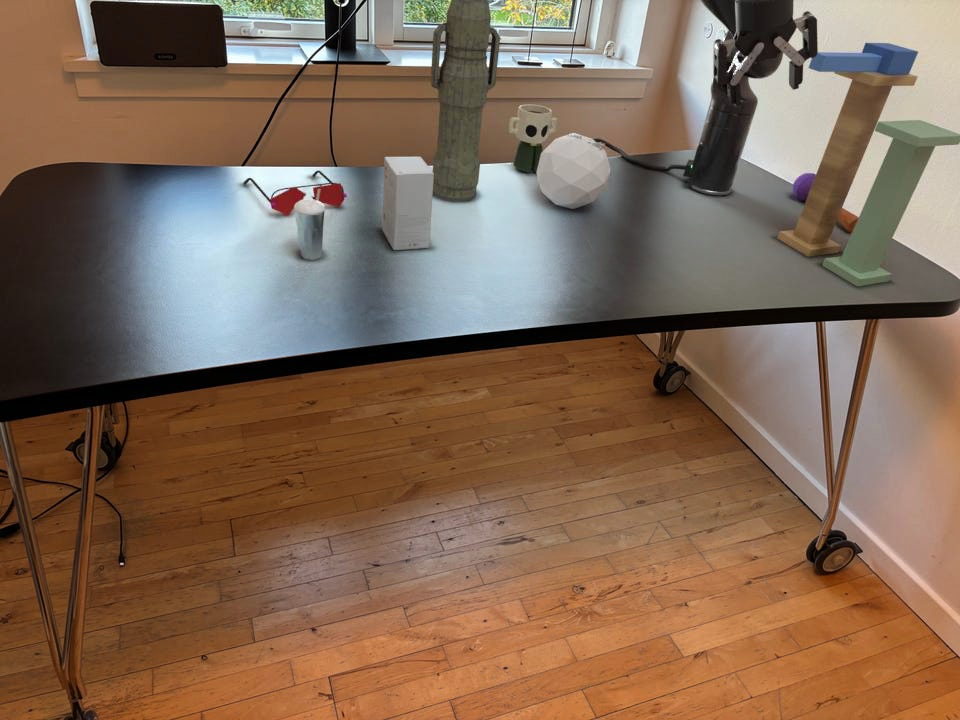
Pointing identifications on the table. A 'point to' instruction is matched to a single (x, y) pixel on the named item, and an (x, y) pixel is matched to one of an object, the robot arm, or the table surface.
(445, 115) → the green handled vase
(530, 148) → the character mug
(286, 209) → the glasses
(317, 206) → the milkshake
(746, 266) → the table surface
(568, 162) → the geodesic sphere
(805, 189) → the kendama
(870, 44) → the peg
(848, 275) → the green pillar
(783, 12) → the robot arm
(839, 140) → the tall stand
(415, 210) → the small box
